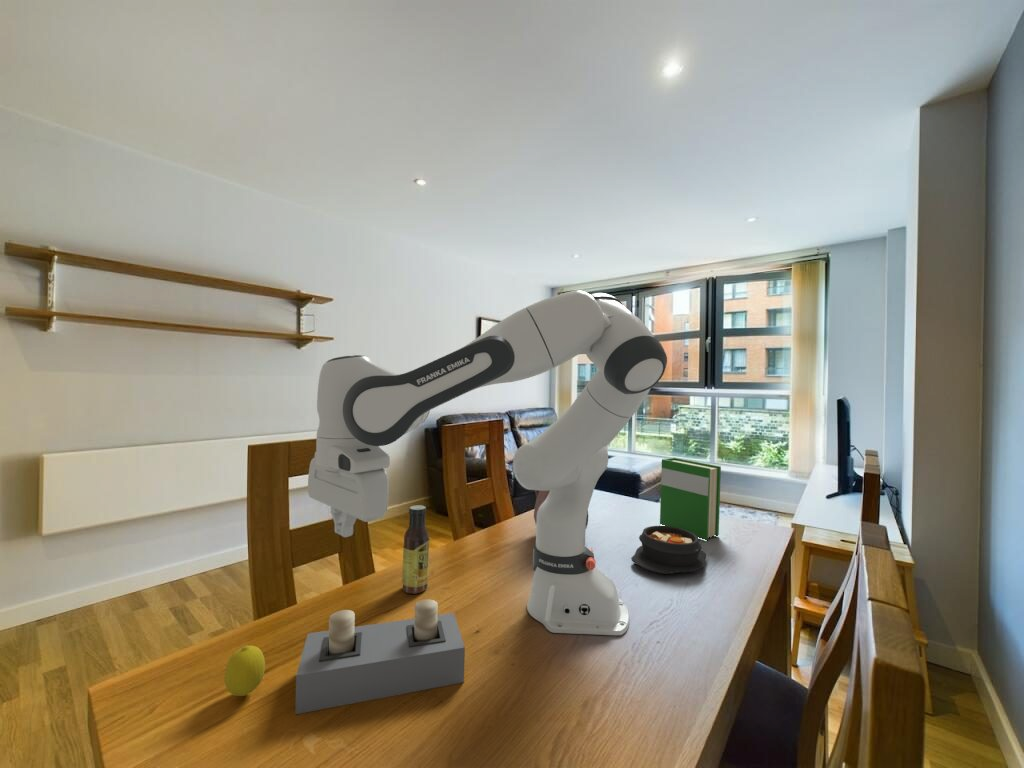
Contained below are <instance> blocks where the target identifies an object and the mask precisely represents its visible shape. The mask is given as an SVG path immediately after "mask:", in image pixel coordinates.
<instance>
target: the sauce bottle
mask: <svg viewBox="0 0 1024 768" xmlns="http://www.w3.org/2000/svg"><path fill="white" fill-rule="evenodd" d="M426 513H427V508H426V506H424V505H421V504H418V505H411V506H409V508H408V514H409V522H408V524H409V526H408V527H407V529H406V531H405V533H404V536H403V547H402V548H403V549H402V571H401V573H402V576H401V580H402V581H401V583H402V591H403V592H404V593H405V594H410V595H411V594H412V595H416V594H419V593H423V592H424V591H426V590H427V588H428V583H429V571H430V570H429V568H430V564H429V563H430V539H431V538H430V537H429V534H428V530H427V526H426Z"/></svg>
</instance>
